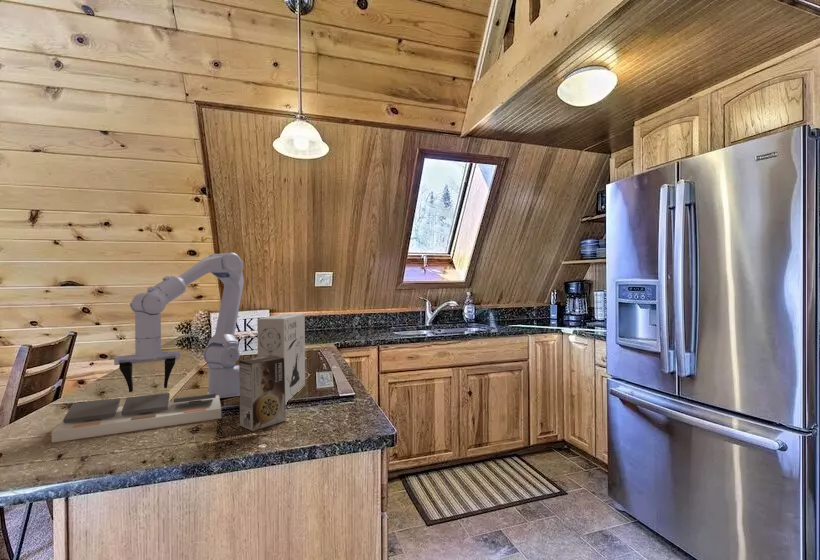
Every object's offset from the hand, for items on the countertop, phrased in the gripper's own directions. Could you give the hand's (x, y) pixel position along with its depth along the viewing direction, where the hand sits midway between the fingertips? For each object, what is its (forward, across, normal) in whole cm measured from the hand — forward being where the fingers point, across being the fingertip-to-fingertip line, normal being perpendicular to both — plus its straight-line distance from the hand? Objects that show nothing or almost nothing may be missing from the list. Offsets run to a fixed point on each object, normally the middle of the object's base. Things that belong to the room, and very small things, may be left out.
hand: (148, 389), depth 107 cm
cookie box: (+8, -25, +22) cm, 34 cm away
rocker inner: (+3, -11, +4) cm, 12 cm away
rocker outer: (+3, +11, +3) cm, 12 cm away
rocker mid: (+3, 0, +3) cm, 4 cm away
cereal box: (+8, -35, -1) cm, 36 cm away
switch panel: (+7, 0, +3) cm, 8 cm away
